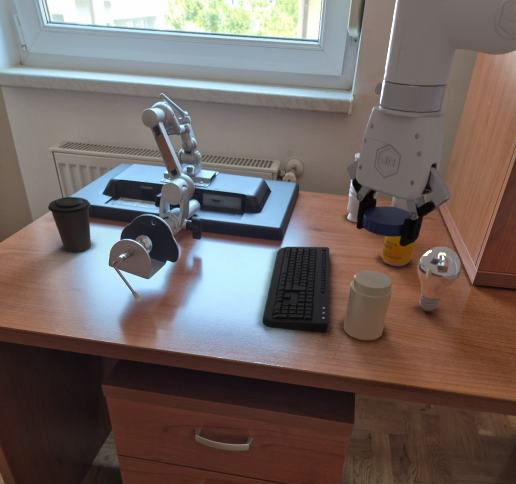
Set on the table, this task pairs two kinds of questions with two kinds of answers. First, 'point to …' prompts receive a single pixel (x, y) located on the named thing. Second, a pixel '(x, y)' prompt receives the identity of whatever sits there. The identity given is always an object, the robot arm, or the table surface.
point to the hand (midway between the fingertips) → (385, 234)
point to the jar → (367, 305)
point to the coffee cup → (72, 222)
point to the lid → (384, 220)
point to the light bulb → (436, 275)
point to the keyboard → (299, 290)
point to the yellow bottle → (396, 243)
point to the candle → (354, 200)
